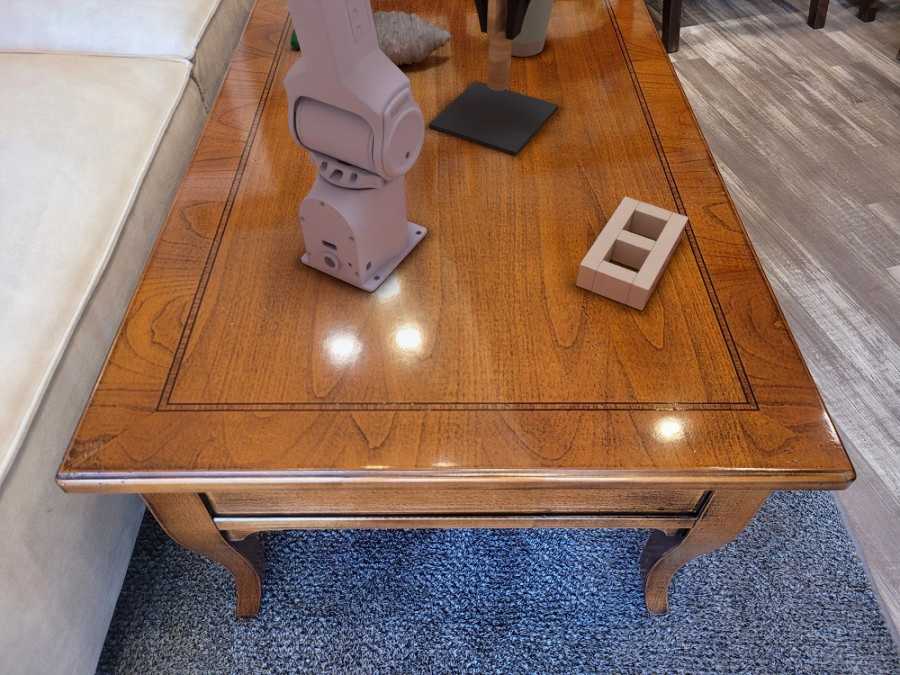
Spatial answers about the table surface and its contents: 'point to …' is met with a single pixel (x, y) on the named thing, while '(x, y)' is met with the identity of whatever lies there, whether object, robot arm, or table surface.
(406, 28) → the seashell
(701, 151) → the table surface
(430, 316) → the table surface
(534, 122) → the mat
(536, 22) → the coffee cup
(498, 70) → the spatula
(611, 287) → the frame
